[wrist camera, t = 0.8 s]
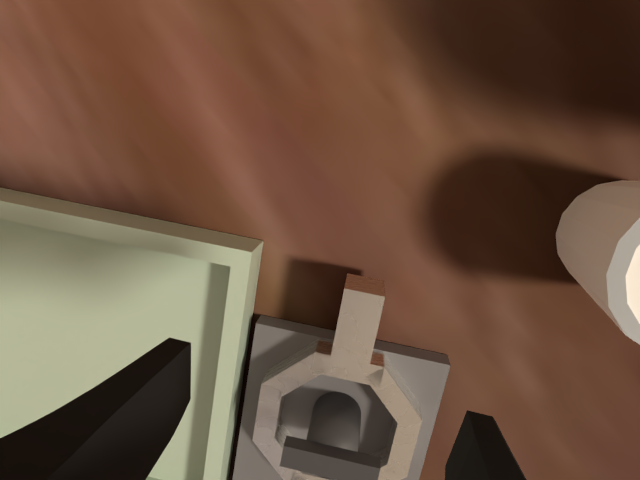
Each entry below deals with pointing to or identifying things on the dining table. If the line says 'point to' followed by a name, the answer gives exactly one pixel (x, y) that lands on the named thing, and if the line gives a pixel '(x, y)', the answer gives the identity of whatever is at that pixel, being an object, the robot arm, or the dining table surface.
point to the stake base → (301, 398)
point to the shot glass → (606, 249)
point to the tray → (123, 316)
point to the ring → (349, 364)
